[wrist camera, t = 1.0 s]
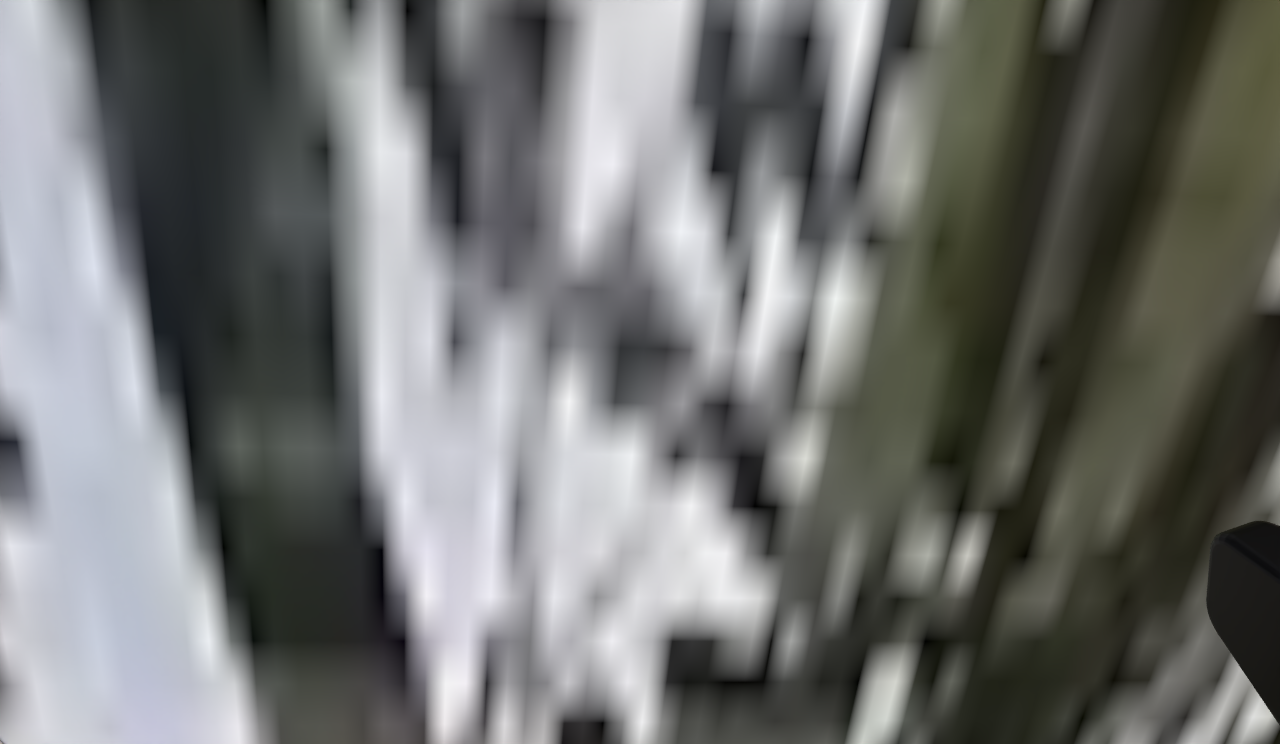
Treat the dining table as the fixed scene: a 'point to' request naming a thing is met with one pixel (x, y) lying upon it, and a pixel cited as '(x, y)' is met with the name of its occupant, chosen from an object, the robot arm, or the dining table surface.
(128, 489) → the dining table surface
